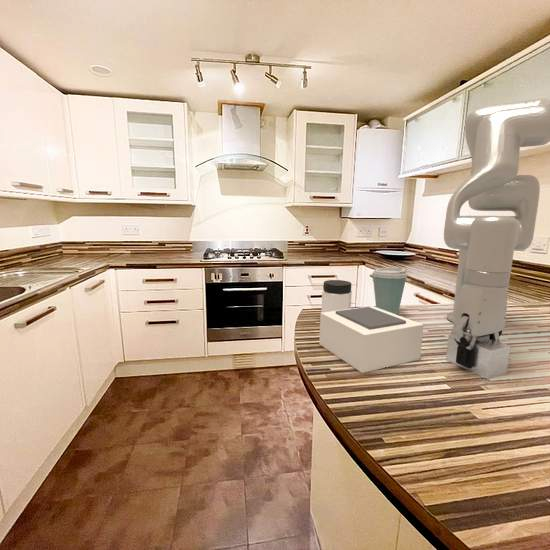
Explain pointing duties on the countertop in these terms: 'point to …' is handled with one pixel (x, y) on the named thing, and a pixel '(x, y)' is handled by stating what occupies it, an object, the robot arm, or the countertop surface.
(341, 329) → the stand
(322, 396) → the countertop surface
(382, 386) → the countertop surface
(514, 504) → the countertop surface
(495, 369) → the housing
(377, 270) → the disposable coffee cup
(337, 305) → the jar
